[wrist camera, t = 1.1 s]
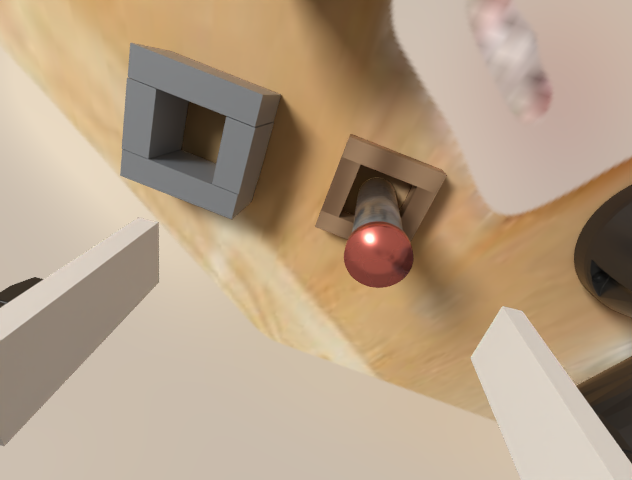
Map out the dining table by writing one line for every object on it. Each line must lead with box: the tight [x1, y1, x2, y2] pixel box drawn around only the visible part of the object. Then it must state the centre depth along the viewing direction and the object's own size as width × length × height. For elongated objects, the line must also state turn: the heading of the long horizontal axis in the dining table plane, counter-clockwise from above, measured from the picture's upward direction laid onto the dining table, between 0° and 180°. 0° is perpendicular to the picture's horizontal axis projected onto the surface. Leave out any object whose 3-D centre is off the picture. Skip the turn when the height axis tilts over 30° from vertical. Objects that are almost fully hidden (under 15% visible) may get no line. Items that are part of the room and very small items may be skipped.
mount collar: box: [315, 134, 447, 242], centre depth 34 cm, size 10×10×2 cm
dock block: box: [120, 43, 281, 219], centre depth 33 cm, size 12×12×6 cm
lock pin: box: [344, 178, 413, 288], centre depth 29 cm, size 5×5×15 cm
